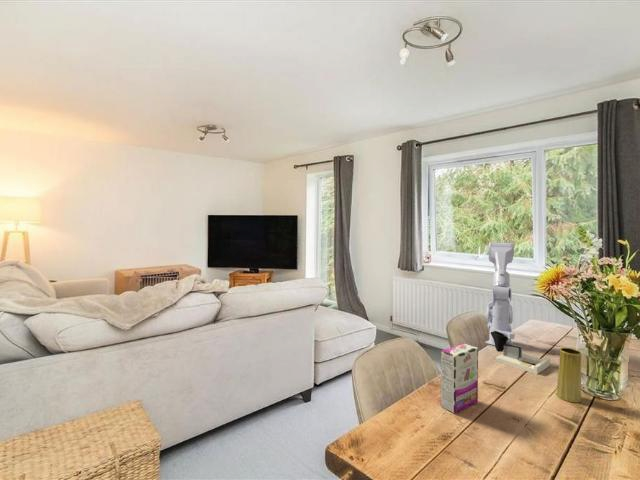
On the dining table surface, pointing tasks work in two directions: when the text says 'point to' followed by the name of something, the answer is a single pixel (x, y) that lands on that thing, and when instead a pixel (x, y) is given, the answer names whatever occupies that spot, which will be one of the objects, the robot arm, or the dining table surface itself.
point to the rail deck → (520, 364)
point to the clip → (512, 351)
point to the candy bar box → (459, 377)
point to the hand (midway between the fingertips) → (499, 351)
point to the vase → (569, 375)
